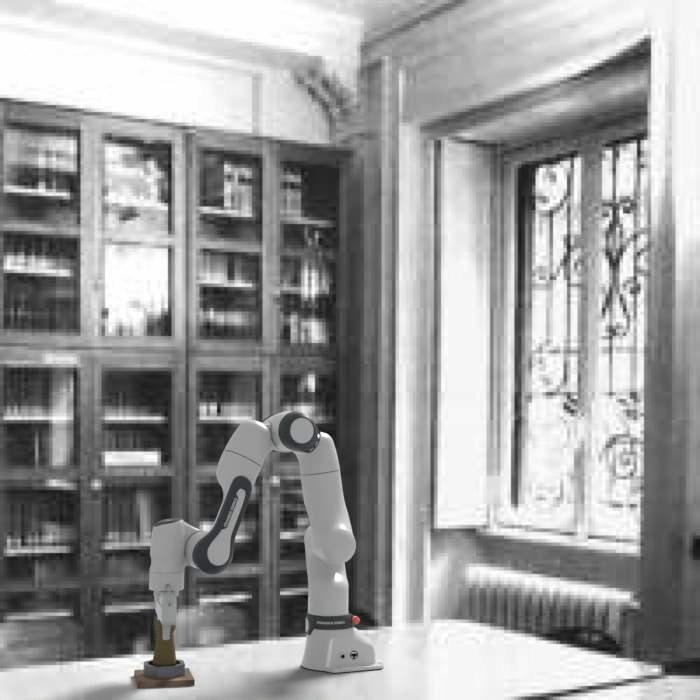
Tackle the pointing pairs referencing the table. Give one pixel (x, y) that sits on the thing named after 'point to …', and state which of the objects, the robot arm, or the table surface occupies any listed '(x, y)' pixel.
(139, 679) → the walnut base
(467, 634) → the table surface
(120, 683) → the table surface
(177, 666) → the metal collar
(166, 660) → the cork
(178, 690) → the table surface
